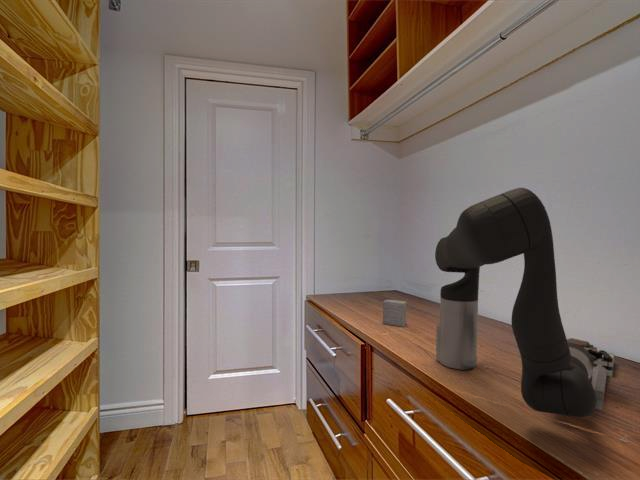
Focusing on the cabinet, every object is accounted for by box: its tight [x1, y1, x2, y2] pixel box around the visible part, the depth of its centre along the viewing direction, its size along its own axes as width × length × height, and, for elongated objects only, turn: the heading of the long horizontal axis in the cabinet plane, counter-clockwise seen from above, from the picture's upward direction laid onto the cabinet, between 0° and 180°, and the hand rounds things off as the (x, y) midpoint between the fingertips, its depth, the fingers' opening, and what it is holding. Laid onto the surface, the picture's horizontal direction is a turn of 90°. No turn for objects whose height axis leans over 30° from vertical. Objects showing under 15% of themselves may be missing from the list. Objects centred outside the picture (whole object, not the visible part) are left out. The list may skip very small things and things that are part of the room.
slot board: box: [590, 365, 608, 411], centre depth 85 cm, size 34×11×2 cm, turn 139°
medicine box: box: [382, 299, 408, 328], centre depth 132 cm, size 8×4×9 cm, turn 59°
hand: (577, 346), depth 85 cm, fingers closed on wooden block, 4 cm apart
